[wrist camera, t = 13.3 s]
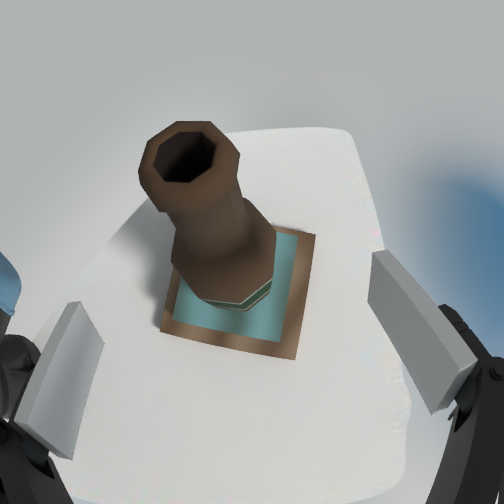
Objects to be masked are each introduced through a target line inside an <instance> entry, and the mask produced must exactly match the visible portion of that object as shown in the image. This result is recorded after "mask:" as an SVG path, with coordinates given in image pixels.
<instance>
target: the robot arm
mask: <svg viewBox="0 0 504 504" xmlns="http://www.w3.org/2000/svg"><path fill="white" fill-rule="evenodd" d="M20 292H21V281H20V277H19V275H18V273H17V271H16V270H15V268H14V267H13V266H12V264H11V263H10V262H9V261H8V260H7V259H6V257H5V256H4V255H3V254H2V253H1V252H0V504H74V503H73V501H72V500H71V498H70V496H69V494H68V492H67V490H66V488H65V486H64V484H63V482H62V480H61V478H60V476H59V473H58V471H57V469H56V467H55V465H54V462H53V460H52V459H51V457H49V456H48V454H49V451H51V452H52V453H53V454H55V455H56V456H57V457H60V458H65V459H70V460H72V459H73V454H74V449H75V445H76V440H77V436H78V432H79V428H80V424H81V420H82V416H83V412H84V408H85V405H86V401H87V397H88V394H89V391H90V387H91V384H92V380H93V377H94V374H95V371H96V368H97V364H98V361H99V358H100V355H101V352H102V349H103V346H104V344H105V343H104V342H103V340H102V338H101V337H100V335H99V333H98V332H97V330H96V328H95V327H94V325H93V323H92V321H91V320H90V318H89V316H88V314H87V313H86V311H85V309H84V307H83V305H82V303H81V301H79V302H71V303H68V304H67V306H66V308H65V309H64V311H63V313H62V315H61V317H60V319H59V320H58V322H57V324H56V326H55V328H54V330H53V332H52V334H51V336H50V338H49V340H48V342H47V344H46V346H45V348H44V350H43V352H42V354H40V352H39V350H38V349H37V348H36V346H35V345H34V344H33V343H32V342H31V341H30V340H29V339H27V338H26V337H23V336H20V335H11V334H8V335H5V332H6V329H7V326H8V324H9V321H10V319H11V316H13V315H14V312H15V311H14V309H15V305H16V303H17V300H18V298H19V295H20ZM368 304H369V305H370V307H371V308H372V310H373V312H374V313H375V315H376V317H377V318H378V320H379V322H380V323H381V325H382V327H383V328H384V330H385V332H386V333H387V335H388V337H389V338H390V340H391V342H392V344H393V345H394V347H395V349H396V351H397V352H398V354H399V356H400V358H401V359H402V361H403V363H404V364H405V366H406V368H407V370H408V372H409V374H410V376H411V377H412V379H413V381H414V383H415V385H416V387H417V389H418V390H419V392H420V394H421V396H422V398H423V400H424V402H425V404H426V406H427V408H428V410H429V412H430V413H431V415H433V414H435V413H437V412H440V411H441V410H444V409H446V408H448V407H449V405H450V404H451V402H452V401H453V399H455V401H456V403H457V406H456V407H455V409H454V410H453V411H452V413H451V414H450V415H449V418H448V420H450V419H451V418H452V417H453V421H452V425H451V429H450V433H449V437H448V440H447V444H446V448H445V451H444V454H443V458H442V461H441V463H440V467H439V469H438V472H437V475H436V478H435V481H434V483H433V486H432V489H431V491H430V494H429V496H428V499H427V501H426V503H425V504H495V502H496V499H497V495H498V491H499V497H498V504H504V359H503V358H501V357H492V356H491V355H490V354H489V353H488V351H487V350H486V348H485V347H484V346H483V345H482V343H481V342H480V341H479V339H478V338H477V337H476V335H475V334H474V333H473V332H472V330H471V329H469V327H468V325H467V324H466V323H465V322H463V319H462V318H461V317H460V316H459V314H458V313H457V312H456V311H455V310H453V309H452V308H451V307H449V306H447V305H446V304H443V305H441V306H437V305H436V304H435V303H434V302H433V301H432V299H431V298H430V297H429V296H428V295H427V293H425V291H424V290H423V289H422V287H421V286H420V285H419V284H418V283H417V282H416V281H415V279H414V278H413V277H412V276H411V275H410V274H409V272H408V271H407V270H406V269H405V268H404V267H403V266H402V265H401V264H400V262H399V261H398V260H397V259H396V258H395V257H394V256H393V255H392V254H391V253H390V252H389V250H383V251H378V252H373V253H372V265H371V276H370V285H369V294H368ZM3 418H4V419H9V421H8V423H7V422H6V421H5V420H4V419H3Z"/></svg>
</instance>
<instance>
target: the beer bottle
mask: <svg viewBox="0 0 504 504" xmlns="http://www.w3.org/2000/svg"><path fill="white" fill-rule="evenodd" d="M239 158H240V153H239V152H238V150H237V149H236V147H235V146H234V145H233V143H232V142H231V141H230V140H229V139H228V138H227V137H226V136H225V135H224V134H223V133H222V132H221V131H220V130H219V129H218V128H217V127H216V126H215V125H213V123H212V122H210V121H176V122H175V123H173V124H172V125H170V126H169V127H167V128H166V129H164V130H163V131H161V132H160V133H158V134H157V135H155V136H154V137H152V138H151V139H150V140H148V141H147V144H146V147H145V150H144V153H143V156H142V159H141V163H140V166H139V169H138V174H139V181H140V185H141V186H142V188H143V189H144V191H145V192H146V193H147V195H148V196H149V198H150V199H151V201H152V202H153V204H154V205H155V206H156V208H157V209H158V211H159V212H167V214H168V216H169V217H170V219H171V221H172V222H173V224H174V226H175V227H176V233H175V238H174V243H173V249H172V255H171V262H172V264H173V265H174V267H175V268H176V269H177V271H178V272H179V274H180V275H181V276H182V278H183V279H184V280H185V282H186V283H187V285H188V286H189V287H190V289H191V290H192V291H193V293H194V294H195V295H196V296H197V297H198V298H199V299H200V300H202V301H204V302H206V303H208V304H210V305H212V306H214V307H216V308H221V309H229V310H238V311H248V310H249V309H251V308H252V307H253V306H254V305H256V304H257V303H258V302H259V301H261V300H262V299H263V298H264V297H266V296H267V295H268V294H269V293H270V289H271V284H272V280H273V273H274V262H275V252H276V241H277V235H276V230H275V229H274V228H273V227H272V226H271V224H270V223H269V222H268V221H267V220H266V219H265V218H264V216H263V215H262V214H261V213H260V212H259V211H258V210H257V209H256V207H255V206H254V205H253V204H252V203H251V202H250V201H249V200H247V199H246V198H243V197H242V194H241V190H240V187H239V183H238V180H237V171H238V165H239Z"/></svg>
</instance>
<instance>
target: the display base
mask: <svg viewBox="0 0 504 504" xmlns="http://www.w3.org/2000/svg"><path fill="white" fill-rule="evenodd" d="M273 228H274V229H275V230H276V235H277V241H276V252H275V262H274V273H273V280H272V284H271V289H270V293H269V294H268V295H267V296H266V297H264V298H263V299H262V300H261V301H259V302H258V303H257V304H256V305H254V306H253V307H252V308H251V309H249V310H248V311H238V310H229V309H221V308H216V307H214V306H212V305H210V304H208V303H206V302H204V301H202V300H200V299H199V298H198V297H197V296H196V295H195V294H194V293H193V291H192V290H191V289H190V287H189V286H188V285H187V283H186V282H185V280H184V279H183V278H182V276H181V275H180V274H179V272H178V271H177V269H176V268H175V267H174V269H173V273H172V277H171V282H170V286H169V290H168V295H167V299H166V304H165V308H164V313H163V318H162V322H161V327H160V332H163V333H166V334H170V335H174V336H178V337H182V338H186V339H190V340H194V341H198V342H202V343H207V344H211V345H216V346H220V347H225V348H230V349H234V350H239V351H244V352H250V353H255V354H260V355H266V356H271V357H277V358H283V359H290V360H295V358H296V353H297V347H298V342H299V337H300V331H301V326H302V320H303V315H304V309H305V303H306V297H307V291H308V285H309V278H310V272H311V265H312V258H313V251H314V244H315V237H316V234H311V233H305V232H300V231H295V230H289V229H283V228H278V227H273Z"/></svg>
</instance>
